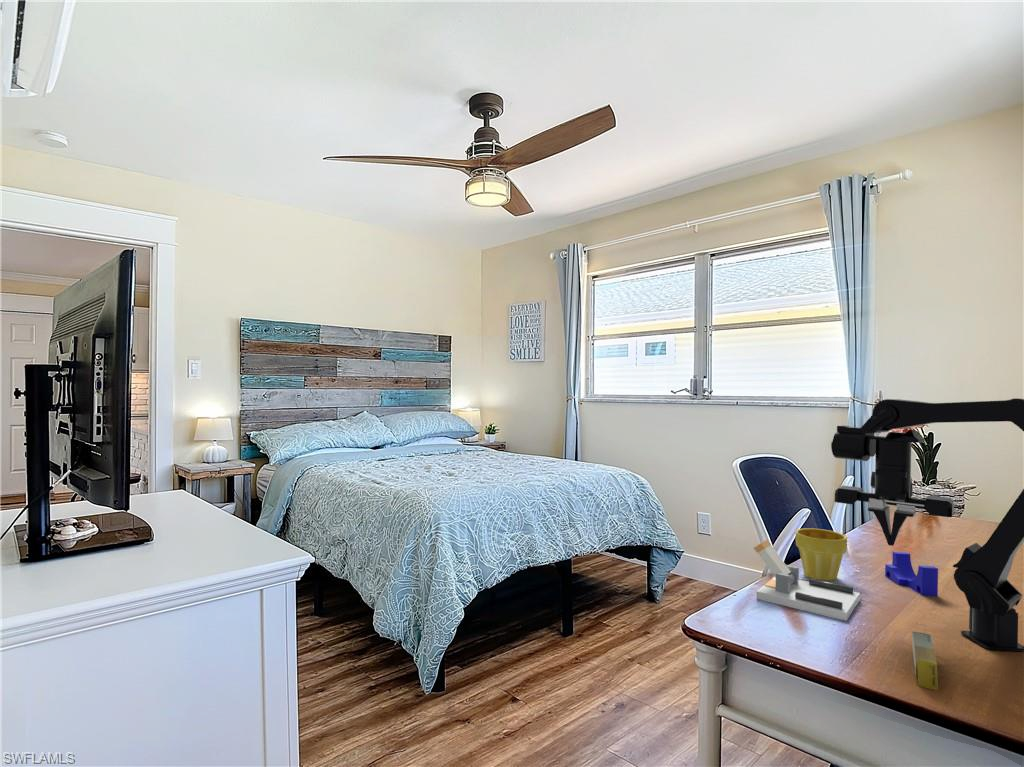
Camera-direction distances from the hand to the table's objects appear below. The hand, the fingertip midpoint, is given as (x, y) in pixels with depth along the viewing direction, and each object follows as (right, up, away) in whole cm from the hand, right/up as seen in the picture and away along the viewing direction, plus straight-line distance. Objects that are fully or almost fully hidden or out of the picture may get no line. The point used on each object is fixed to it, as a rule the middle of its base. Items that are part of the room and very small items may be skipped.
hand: (891, 545), depth 111 cm
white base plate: (-13, -13, +6) cm, 19 cm away
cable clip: (+15, -14, +16) cm, 26 cm away
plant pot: (-2, -13, +21) cm, 25 cm away
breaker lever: (-16, -10, +9) cm, 20 cm away
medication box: (-10, -13, -23) cm, 28 cm away
